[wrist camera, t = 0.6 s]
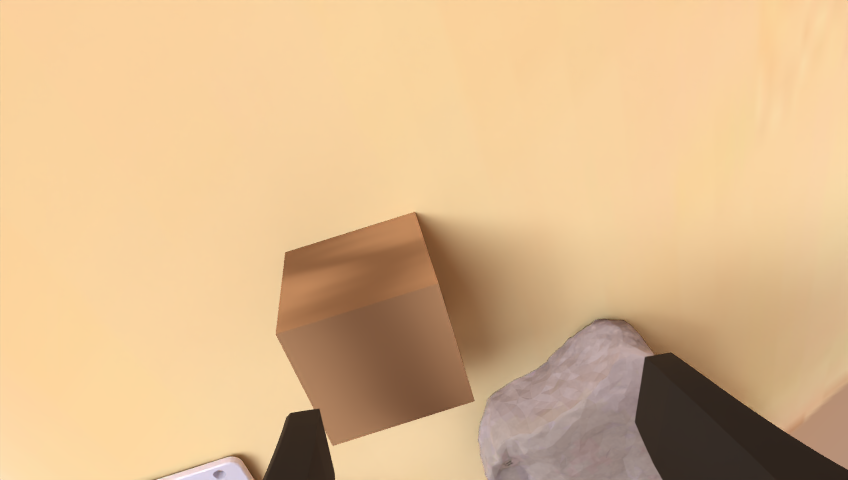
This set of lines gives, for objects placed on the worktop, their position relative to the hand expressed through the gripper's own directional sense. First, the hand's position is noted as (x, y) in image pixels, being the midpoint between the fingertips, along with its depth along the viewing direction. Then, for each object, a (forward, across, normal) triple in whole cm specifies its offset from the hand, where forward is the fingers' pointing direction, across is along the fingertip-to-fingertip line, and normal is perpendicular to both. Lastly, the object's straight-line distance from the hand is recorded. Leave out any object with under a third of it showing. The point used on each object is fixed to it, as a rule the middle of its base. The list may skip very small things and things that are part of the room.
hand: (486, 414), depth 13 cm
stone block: (+10, -7, +13) cm, 18 cm away
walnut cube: (+10, +2, +3) cm, 11 cm away
